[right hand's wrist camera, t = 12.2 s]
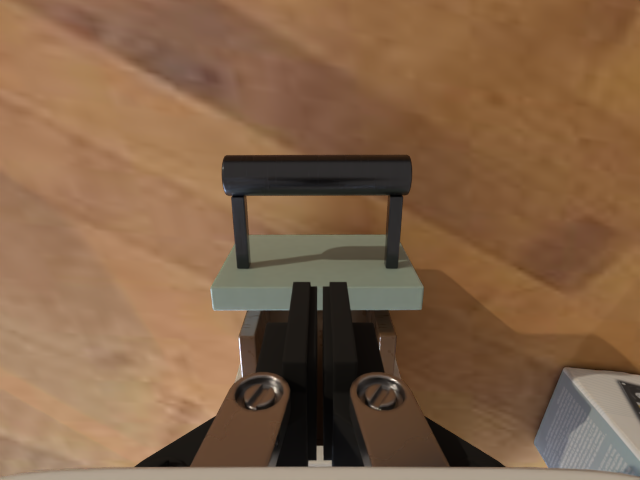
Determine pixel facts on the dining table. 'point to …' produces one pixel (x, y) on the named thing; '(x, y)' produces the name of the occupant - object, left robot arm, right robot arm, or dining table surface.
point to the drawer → (316, 251)
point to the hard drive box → (592, 422)
